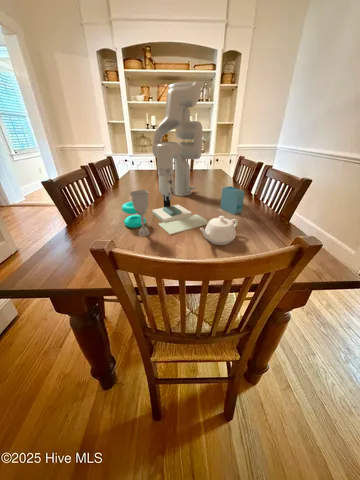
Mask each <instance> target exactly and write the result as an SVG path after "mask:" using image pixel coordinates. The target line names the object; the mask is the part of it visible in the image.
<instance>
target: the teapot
mask: <svg viewBox="0 0 360 480" xmlns="http://www.w3.org/2000/svg"><path fill="white" fill-rule="evenodd" d="M208 221H209V222H208V224H206V225H205V228H204V227H200V228H199V231H201V233H202V234H203V237H204V239H206V240H207V241H208V242H209V243H210V244H212V245H216V246H226V245H229V244H230V243H231V242H233V241H234V240H235V239H236V237H237V236H236V235H237V234H236V233H237V232H236V227H237V226H238V223H239V221H238V219H236V218H232V219H230V218H226V217H225V216H224V215H219V216H218V217H214V218H211V219H210V220H208Z"/></svg>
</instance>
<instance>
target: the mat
mask: <svg viewBox="0 0 360 480" xmlns="http://www.w3.org/2000/svg"><path fill="white" fill-rule="evenodd" d="M209 221H210V220H207V219H206V218H204V217H203V216H200V215H199V214H197V213H196V214H192V215H191V216H187V217H183V218H179V219H175V220H171V221H167V222H159V223H157V225H158V226H159V227H160V228H161V229H163V230H164V231H165V232H166V233H167V234H168V235H170V236H171V235H173V234H177V233H181V232H184V231H189V230H191V229H196V228H199V227H202V226H207V224H208V222H209Z"/></svg>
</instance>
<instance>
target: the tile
mask: <svg viewBox="0 0 360 480" xmlns="http://www.w3.org/2000/svg"><path fill="white" fill-rule="evenodd" d="M162 208H163V211H164V212H166V213H167V214H168V215H170V216H174V215H179V214H181V210H179V209H177V208H176V207H174V206H173V205H170V206H169V207H164V206H163V207H162Z"/></svg>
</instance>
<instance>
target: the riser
mask: <svg viewBox="0 0 360 480" xmlns="http://www.w3.org/2000/svg"><path fill="white" fill-rule="evenodd" d="M172 206H174V207H176V208H177V209H179V210H181V214H179V215H174V216H170V215H168V214H167V213H166V212H164V211H163V208H164V207H160V208H155V209H154V208H153V209H151V213H152V215H153V216H155V218H157V219H158V220H159V221H160V222H161V223H163V222H167V221H171V220H175V219H179V218H183V217H187V216H191V215H193V212H192V211H190V210H188V209H186V208H185V207H183V206H182V205H180V204H174V205H172Z"/></svg>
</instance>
